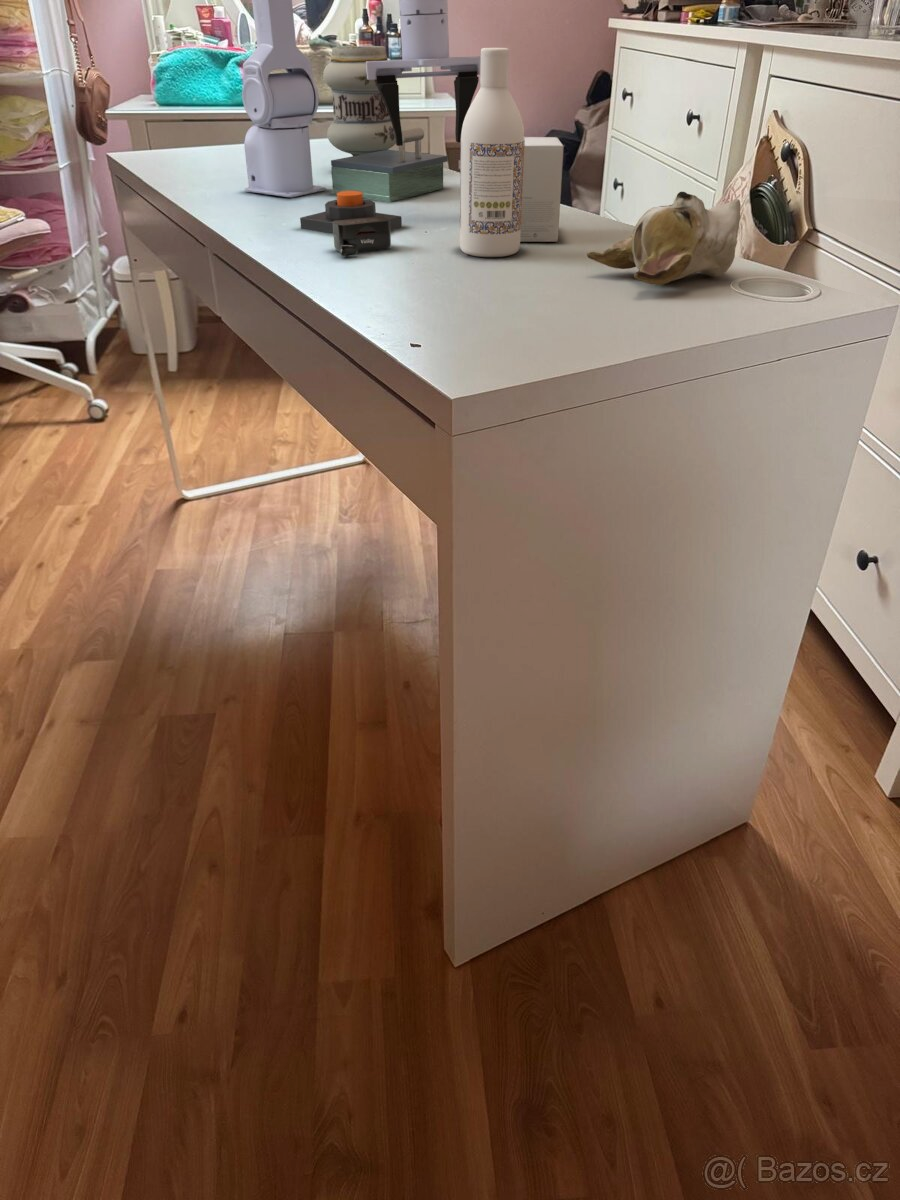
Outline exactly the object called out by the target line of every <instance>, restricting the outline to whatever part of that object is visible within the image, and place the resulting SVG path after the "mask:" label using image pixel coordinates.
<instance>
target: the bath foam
mask: <svg viewBox="0 0 900 1200" xmlns="http://www.w3.org/2000/svg"><path fill="white" fill-rule="evenodd" d="M480 56H481V69H480V75H479V77H480V79H479V81H480V82H479V83H480V85H479V86H480V87H479V90H478V92H477V94H476V95H475V97H473V99H472V101H471V104H470V107H469V109H468V111H467V114H466V116H465V119H464V122H463V126H462V132H461V143H460V151H459V153H460V160H459V161H460V163H459V165H460V166H459V169H460V170H459V176H460V177H459V187H460V189H459V249H460V250H461V251H462V252H463V253H464V254H467V255H469V256H473V257H480V258H503V257H509V256H512V255H515V254H516V253H518V251H519V250H520V248H521V242H520V233H521V214H522V191H523V169H524V146H525V137H526V136H525V126H524V122H523V118H522V115H521V112H520V110H519V108H518V106H517V103H516V102H515V100H514V98H513V96H512V94H511V92H510V91H509V68H510V67H509V66H510V49H509V48H508V47H482V48H481V49H480Z"/></svg>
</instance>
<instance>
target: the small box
mask: <svg viewBox="0 0 900 1200" xmlns="http://www.w3.org/2000/svg"><path fill="white" fill-rule="evenodd" d="M524 137H525V146H524V169H523V191H522V214H521V233H520V243H529V242H530V243H532V242H533V243H535V242H536V243H537V242H539V243H541V242H542V243H547V242H549V243H550V242H552V243H553V242H559V232H560V231H559V228H560V213H561V212H560V211H561V198H562V196H561V195H562V179H563V162H564V145H563V143H562V142H561V141H560V139H559V137H557V136H542V137H541V136H524Z"/></svg>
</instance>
